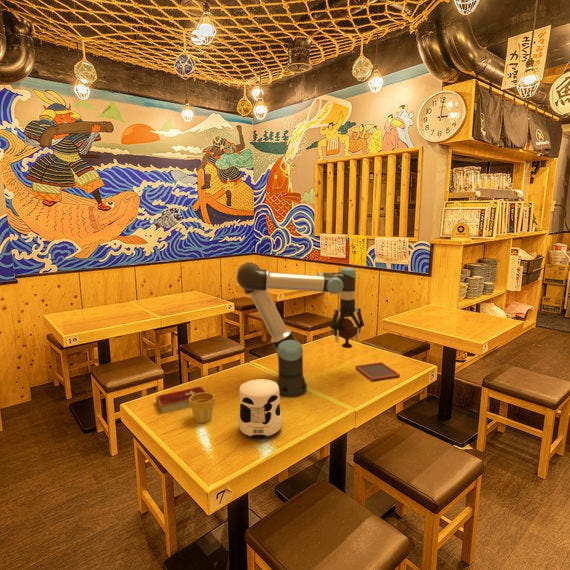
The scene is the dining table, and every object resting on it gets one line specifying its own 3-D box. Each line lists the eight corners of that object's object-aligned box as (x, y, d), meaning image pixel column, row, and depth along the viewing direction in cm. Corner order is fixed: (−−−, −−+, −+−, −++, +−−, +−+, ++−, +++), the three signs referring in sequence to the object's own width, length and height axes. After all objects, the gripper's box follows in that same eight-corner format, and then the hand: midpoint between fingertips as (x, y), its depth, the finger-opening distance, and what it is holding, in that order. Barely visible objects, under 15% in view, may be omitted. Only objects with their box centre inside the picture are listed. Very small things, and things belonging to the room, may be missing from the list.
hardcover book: (156, 403, 182) (155, 395, 181) (201, 393, 191) (201, 385, 190) (161, 415, 171) (160, 406, 170) (208, 403, 180) (208, 394, 180)
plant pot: (204, 410, 173) (203, 389, 171) (220, 417, 166) (219, 396, 165) (185, 420, 165) (183, 398, 163) (201, 428, 158) (199, 405, 157)
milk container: (266, 414, 168) (265, 374, 165) (291, 431, 154) (290, 388, 151) (230, 428, 158) (228, 385, 155) (253, 447, 144) (251, 401, 141)
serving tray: (371, 381, 198) (371, 378, 198) (355, 368, 215) (355, 365, 215) (399, 377, 203) (399, 374, 202) (381, 365, 220) (381, 362, 219)
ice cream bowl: (359, 349, 198) (360, 320, 196) (337, 349, 198) (337, 320, 196) (356, 343, 209) (356, 315, 206) (335, 343, 209) (335, 315, 206)
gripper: (329, 301, 193) (329, 345, 196) (371, 298, 199) (370, 340, 203) (323, 298, 200) (323, 340, 203) (364, 295, 206) (363, 336, 210)
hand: (347, 340), depth 203 cm, fingers closed on ice cream bowl, 11 cm apart
